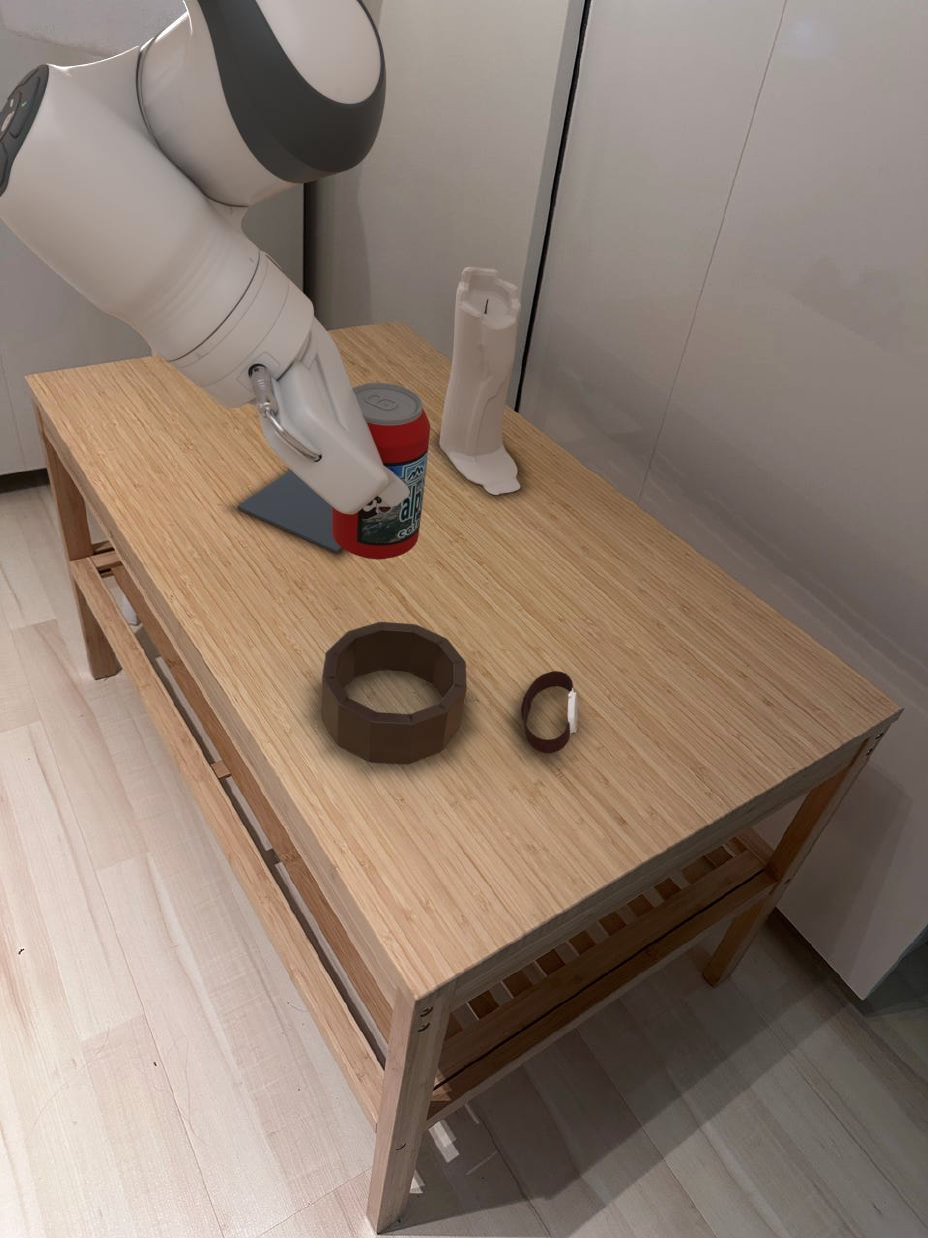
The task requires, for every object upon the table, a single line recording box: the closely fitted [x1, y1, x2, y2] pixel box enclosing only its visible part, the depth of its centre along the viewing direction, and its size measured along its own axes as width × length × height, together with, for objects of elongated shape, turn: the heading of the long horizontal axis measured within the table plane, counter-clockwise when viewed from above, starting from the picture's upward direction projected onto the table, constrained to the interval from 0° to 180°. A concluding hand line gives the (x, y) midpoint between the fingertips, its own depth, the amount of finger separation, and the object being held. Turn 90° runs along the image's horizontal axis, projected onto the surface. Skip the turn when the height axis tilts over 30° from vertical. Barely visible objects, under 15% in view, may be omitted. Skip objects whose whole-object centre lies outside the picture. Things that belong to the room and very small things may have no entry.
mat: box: [236, 469, 344, 555], centre depth 88 cm, size 12×12×1 cm
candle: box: [439, 266, 522, 496], centre depth 92 cm, size 7×14×20 cm, turn 24°
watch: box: [520, 670, 579, 754], centre depth 68 cm, size 8×5×4 cm, turn 170°
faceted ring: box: [320, 621, 467, 765], centre depth 67 cm, size 11×11×4 cm
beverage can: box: [332, 382, 431, 561], centre depth 63 cm, size 7×7×12 cm
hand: (388, 463), depth 63 cm, fingers closed on beverage can, 7 cm apart
